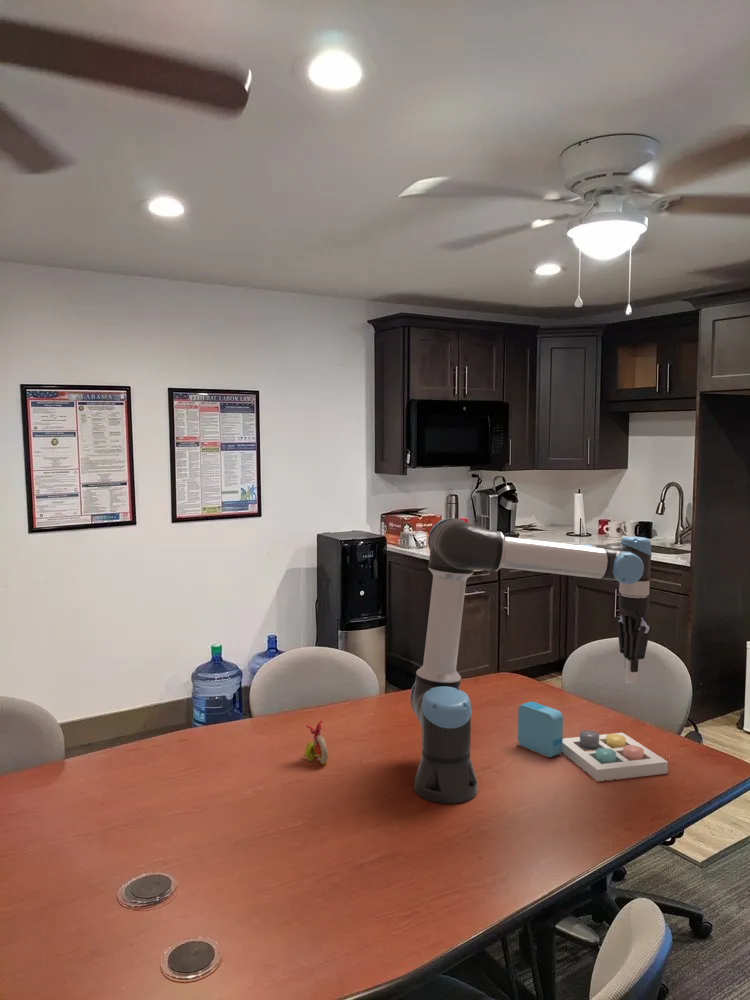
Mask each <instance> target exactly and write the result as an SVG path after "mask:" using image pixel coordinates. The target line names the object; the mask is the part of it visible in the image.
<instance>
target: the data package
mask: <svg viewBox="0 0 750 1000" xmlns="http://www.w3.org/2000/svg"><path fill="white" fill-rule="evenodd" d="M517 709H518V710H517V719H518V720H517V742H518V744H519V746H520V747H522V746H523V747H522V748H524V747H525V748H524V749H526V748H528V749H530V750H529V751H531V750H533V751H535V752H534V753H536V752H538V753H540V754H539V755H541V754H543V755H545V756H548V757H550V758H553V757H555V756H558V755H560V754H562V753H561V752H562V742H563V739H564V738H563V731H564V725H563V724H564V716H563V713H562V712H561V711H560V710H558V709H555V708H553V707H549V706H547V705H544V704H541V703H538V702H534V701H529V702H525V703H522V704H519V706H518V708H517ZM528 749H527V750H528ZM533 751H532V752H533ZM538 753H537V754H538ZM543 755H542V756H543ZM545 756H544V757H545ZM548 757H547V758H548Z"/></svg>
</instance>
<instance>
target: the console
mask: <svg viewBox="0 0 750 1000" xmlns="http://www.w3.org/2000/svg"><path fill="white" fill-rule="evenodd" d="M608 734H609V733H605V734H599V748H608V749H612V750H614V751H615V752H616V762H615V763H606V764H601V763H600V762H598V761H597V760H596V749H586V748H583V747H581V746H580V736H577V737H575V736H574V737H564V738H563V742H562V752H563V753H564V754H565V755H566V756H568V757H569V758H570V759H571V760H572V761H574V762H575V763H576V764H577V765H579V766H580V767H581V768H582V769H583V770H582V769H581V768H580V767H579V766H578V767H579V768H580V769H581V770H582V771H584V772H585V771H586V772H587V773H588V774H587V773H586V772H585V773H586V774H587V775H588V776H590V775H591V776H592V777H593V778H592V777H591V776H590V777H591V778H592V779H593V780H594V781H596V780H597V781H599V782H604V780H607V781H614V779H616V780H622V779H631V778H638V777H639V778H640V777H648V776H656V775H664V774H669V773H668V771H669V770H668V769H669V767H668V766H669V762H668V761H667V760H666V759H664V758H663V757H662V756H660V755H658V754H656V753H655V752H654V751H652V750H650V749H649V748H647V747H646V746H644V745H643V744H641V743H639V742H638V741H636V740H634V739H633V738H632V737H630V736H629V735H627V734H625V733H624V732H616V733H612V734H619V735H622V736H624V737H625V738H626V743H625V746H626V745H634V746H638V747H641V748H642V749H643V750H644V753H643V759H642V760H633V761H629V760H628V759H626V758H625V757H623V747H622V748H610V747H609V746H608V745H606V735H608ZM599 748H597V749H599ZM586 750H594V751H586ZM563 753H562V754H563ZM564 754H563V755H564ZM565 755H564V756H565ZM566 756H565V757H566ZM568 757H567V758H568ZM569 758H568V759H569ZM570 759H569V760H570ZM571 760H570V761H571ZM572 761H571V762H572ZM574 762H573V763H574ZM575 763H574V764H575ZM576 764H575V765H576ZM577 765H576V766H577ZM597 781H596V782H597Z"/></svg>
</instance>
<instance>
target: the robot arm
mask: <svg viewBox="0 0 750 1000" xmlns="http://www.w3.org/2000/svg"><path fill="white" fill-rule="evenodd" d="M427 544H428V549H429V558H428V567H427V569H428V571H430V573H431V574H432V584H431V592H430V601H429V602H430V604H429V610H428V611H429V612H428V617H427V618H428V620H427V628H426V629H427V630H426V636H425V637H426V639H425V646H424V655H423V662H422V663H423V664H422V666H421V667H420V668H418V669H417V670H416V672H415V681H414V684H413V685H412V687H411V690H410V705H411V706H410V707H411V709H412V711H413V712H414V715H415V716H416V718H417V720H418V722H419V724H420V727H421V758H420V761H419V765H418V768H417V771H416V772H415V773H416V774H415V777H414V791H415V793H416V794H417V795H418V796H419V797H421V798H423V799H425V800H426V801H429V802H433V803H439V804H459V803H465V802H467V801H470V800H472V799H474V797H475V796H476V795H477V793H478V779H477V776H476V773H475V770H474V767H473V763H472V760H471V733H472V732H471V728H472V727H471V724H472V723H471V722H472V721H471V720H472V719H471V718H472V707H471V699H470V697H469V695H468V694H467V693H466V692H465V691H463V690H462V689H461V682H462V681H461V679H462V676H461V675H460V674H459V672H458V671H457V664H458V656H459V654H458V653H459V646H460V636H461V631H462V630H461V629H462V628H461V627H462V620H463V612H464V605H465V603H464V602H465V596H466V595H465V594H466V586H467V585H466V584H467V580H468V578H471V576H473V574H474V571H476V570H477V571H492V572H498V571H499V570H500V569H509V570H510V569H511V570H519V571H520V570H521V571H527V572H537V573H538V572H539V573H547V574H548V573H549V574H557V575H563V576H565V575H566V576H574V577H582V578H583V577H584V578H592V579H593V578H594V579H599V580H600V579H601V580H605V581H606V580H607V581H616V582H618V583H619V587H618V588H619V589H618V590H619V594H620V595H619V597H618V608H619V610H622V611H621V614H620V616H619V615H618V616H615V622H616V626H617V636H618V646H619V652H620V654H623V657H624V683H625V684H627V685H631V684H638V672H639V661H640V660H644V659H645V657H646V652H647V646H648V642H649V639H650V638H649V636H650V634H651V632H652V629H653V627H652V626H651V625H648V624H647V622H646V621H647V618H646V612H648V611H649V610H650V598H649V595H650V585H651V583H650V581H651V565H652V563H651V562H652V543H651V539H649V538H647V537H644V536H643V537H642V536H623V537H622V538H621V540H620V543H619V544H593V543H589V544H581V545H579V544H578V545H577V544H570V543H569V544H568V543H561V542H554V541H553V542H552V541H543V540H537V539H530V538H529V539H527V538H521V537H513V536H506V535H504V534H503V532H502V531H500V530H499V531H498V530H492V529H487V528H484V527H483V528H482V527H479V526H477V525H474V524H472V523H470V522H466V521H465V520H463V519H459V518H456V517H453V518H452V517H448V518H444V519H442V520H439V521H437V523H435V524H434V525H433V526H432V528H431V529H430V531H429V533H428V537H427Z"/></svg>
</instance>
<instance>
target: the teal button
mask: <svg viewBox="0 0 750 1000" xmlns="http://www.w3.org/2000/svg"><path fill="white" fill-rule="evenodd" d="M596 760H597V761H598V762H600V763H601V764H606V763H615V762H616V752H615V751H614V750H612V749H608V748H599V749H596Z"/></svg>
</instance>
